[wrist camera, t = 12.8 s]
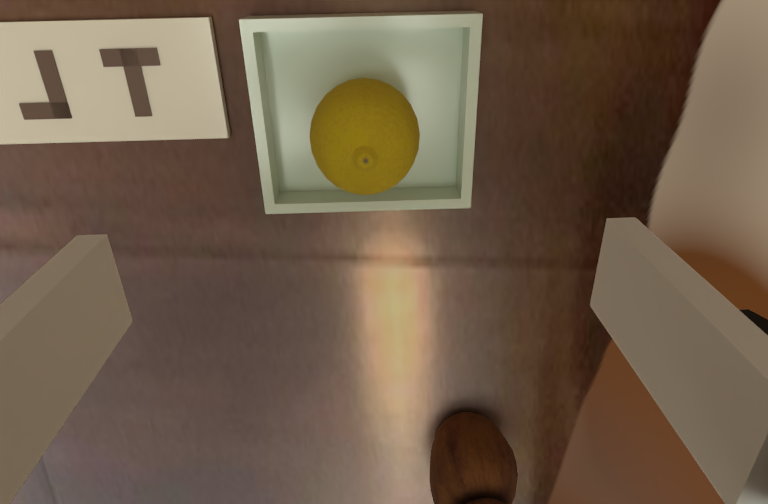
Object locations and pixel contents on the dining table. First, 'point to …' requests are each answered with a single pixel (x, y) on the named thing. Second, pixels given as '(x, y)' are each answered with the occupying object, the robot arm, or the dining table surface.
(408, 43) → the dish
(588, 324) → the dining table surface
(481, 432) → the wooden figurine
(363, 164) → the lemon
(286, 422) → the dining table surface
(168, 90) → the tile
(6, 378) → the robot arm
